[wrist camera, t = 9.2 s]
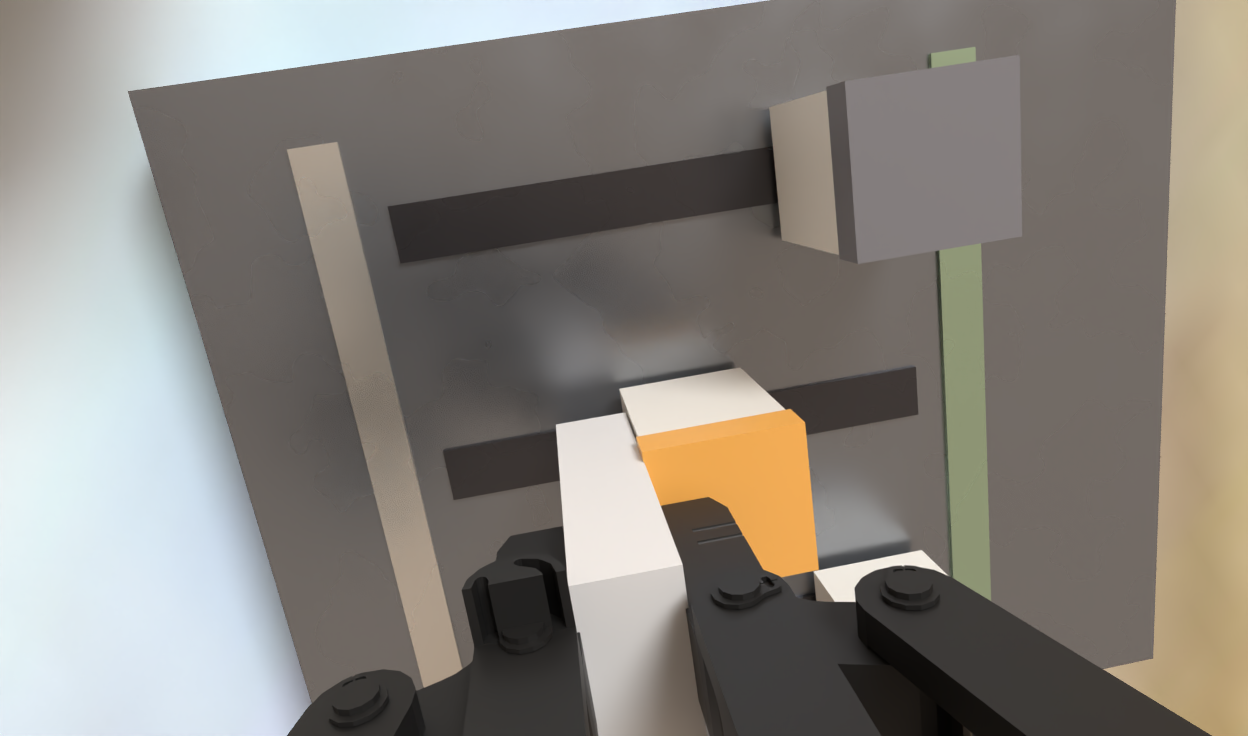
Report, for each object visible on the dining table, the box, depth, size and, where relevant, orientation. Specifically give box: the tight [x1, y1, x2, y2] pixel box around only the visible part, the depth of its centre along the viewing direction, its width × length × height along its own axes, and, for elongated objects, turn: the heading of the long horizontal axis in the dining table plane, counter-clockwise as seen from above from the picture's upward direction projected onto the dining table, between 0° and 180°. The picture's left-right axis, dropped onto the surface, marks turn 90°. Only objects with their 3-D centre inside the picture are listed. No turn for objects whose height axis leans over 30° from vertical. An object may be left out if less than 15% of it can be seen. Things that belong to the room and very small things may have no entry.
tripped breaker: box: [619, 368, 819, 577], centre depth 16 cm, size 3×3×4 cm
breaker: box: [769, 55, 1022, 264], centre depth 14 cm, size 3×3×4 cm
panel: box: [128, 0, 1176, 736], centre depth 19 cm, size 22×18×2 cm
